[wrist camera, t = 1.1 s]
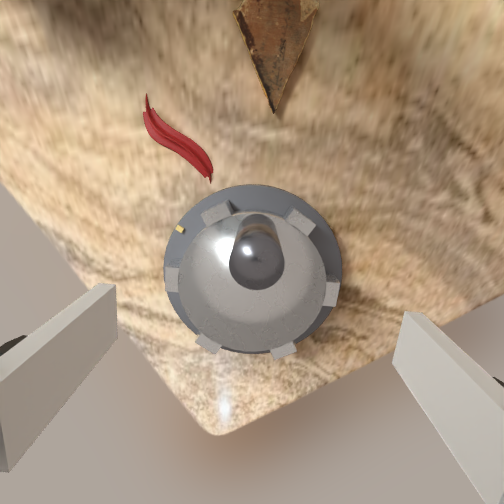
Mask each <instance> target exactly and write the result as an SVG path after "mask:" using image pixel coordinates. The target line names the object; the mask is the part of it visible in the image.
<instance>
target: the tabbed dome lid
mask: <svg viewBox="0 0 504 504" xmlns="http://www.w3.org/2000/svg"><path fill="white" fill-rule="evenodd" d="M200 215H201V216H202V218H203V220H204V222H205V224H206V227H205V228H203V229H202V230H201V231H200V233H199V234H198V235H197V236H196V237H195V239H194V240H193V241H192V242H191V244H190V245H189V247H188V248H187V250H186V252H185V254H184V256H183V258H182V259H172V260H171V261H170V263H169V264H168V265H167V266H166V267H165V291H168V292H179V296H180V300H181V303H182V306H183V308H184V310H185V312H186V314H187V316H188V318H189V319H190V321H191V322H192V323H193V324H194V326H195V327H196V328H197V329H198V330H199V332H198V334H197V337H196V340H195V343H197V344H199V345H200V346H202V347H204V348H205V349H207V350H208V351H210V352H212V353H213V354H216V353H217V352H218V350H219V349H220V348H221V347H222V346H225V347H227V348H231V349H235V350H240V351H250V352H257V351H266V350H270V352H271V354H272V356H273V358H274V360H276V359H279V358H281V357H284V356H286V355H289V354H292V353H294V352H297V349H296V344H295V339H296V338H298V337H299V336H300V335H301V334H303V333H304V332H305V331H306V330H307V329H308V328H309V327H310V326H311V324H312V323H313V322H314V320H315V319H316V317H317V316H318V314H319V312H320V310H321V308H322V306H332V307H336V303H337V298H338V292H339V287H340V282H339V281H338V279H337V278H336V276H335V275H334V273H325V268H324V264H323V261H322V258H321V256H320V254H319V252H318V250H317V249H316V247H315V246H314V244H313V243H312V241H311V240H310V238H309V237H308V235H309V234H310V232H311V231H312V230H313V229H314V227H315V226H316V224H315V223H314V222H313V221H312V220H311V219H310V218H308V217H307V216H306V215H304V214H303V213H301V212H300V211H299V210H297V209H296V208H295V207H293V206H292V205H291V206H290V207H289V209H288V210H287V211H286V213H285V214H284V215H283V216H282V215H279V214H277V213H274V212H270V211H266V210H260V209H246V210H238V211H233V208H232V206H231V204H230V202H229V200H228V199H227V200H225V201H223V202H221V203H219V204H217V205H215V206H212V207H210V208H208V209H206V210H205V211H203V212H202V213H201V214H200Z"/></svg>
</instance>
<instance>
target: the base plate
mask: <svg viewBox="0 0 504 504" xmlns="http://www.w3.org/2000/svg"><path fill="white" fill-rule="evenodd" d="M227 199H228V200H229V202H230V204H231V206H232V208H233V211H238V210H246V209H260V210H266V211H270V212H274V213H277V214H279V215H282V216H283V215H284V214H285V213H286V211H287V210H288V209H289V207H290V206H291V205H292V206H293V207H295V208H296V209H297V210H299V211H300V212H301V213H303V214H304V215H306V216H307V217H308V218H310V219H311V220H312V221H313V222H314V223H315V224H316V226H315V227H314V229H313V230H312V231H311V232H310V234H309V235H308V237H309V238H310V240H311V241H312V243H313V244H314V246H315V247H316V249H317V250H318V252H319V254H320V256H321V258H322V261H323V264H324V268H325V273H334V275H335V276H336V278H337V279H338V281H339V282H340V286H341V280H342V261H341V255H340V250H339V247H338V244H337V241H336V239H335V237H334V235H333V232H332V230H331V229H330V227H329V226H328V224H327V223H326V221H325V220H324V219H323V218H322V217H321V216H320V214H319V213H318V212H317V211H316V210H314V209H313V208H312V207H311V206H310V205H309V204H307V203H306V202H305V201H303V200H302V199H300V198H299V197H297V196H296V195H294V194H291V193H289V192H287V191H285V190H282V189H279V188H275V187H271V186H265V185H240V186H234V187H230V188H226V189H223V190H221V191H218V192H216V193H214V194H212V195H210V196H208V197H206V198H205V199H203V200H202V201H200V202H199V203H198V204H196V205H195V206H194V207H192V208H191V209H190V210H189V211H188V212H187V213H186V214H185V215H184V216H183V218H182V219H181V220H180V222H179V223H178V224H177V226H176V227H175V229H174V231H173V233H172V235H171V237H170V239H169V242H168V245H167V248H166V252H165V257H164V268H163V269H164V281H165V267H166V266H167V265H168V264H169V263H170V261H171V260H172V259H182V258H183V256H184V254H185V252H186V250H187V248H188V247H189V245H190V244H191V242H192V241H193V240H194V239H195V237H196V236H197V235H198V234H199V233H200V231H201V230H202V229H203V228H205V227H206V224H205V222H204V220H203V218H202V216H201V215H200V214H201V213H202V212H203V211H205V210H206V209H208V208H210V207H212V206H215V205H217V204H219V203H221V202H223V201H225V200H227ZM339 290H340V287H339ZM167 294H168V297H169V300H170V302H171V304H172V306H173V308H174V310H175V311H176V313H177V314H178V316H179V317H180V319H181V320H182V321H183V322H184V323H185V324H186V326H187V327H188V328H189V329H191V330H192V331H193V332H194V333H195V334H196V335H197V334H198V332H199V330H198V329H197V328H196V327H195V326H194V324H193V323H192V322H191V321H190V319H189V318H188V316H187V314H186V312H185V310H184V308H183V306H182V303H181V300H180V296H179V292H168V291H167ZM338 294H339V292H338ZM332 308H333V307H332V306H322V308H321V310H320V312H319V314H318V316H317V317H316V319H315V320H314V322H313V323H312V324H311V326H310V327H309V328H308V329H307V330H306V331H305V332H304V333H303V334H301V335H300V336H299V337H298V338H296V339H295V344H296V343H298V342H300V341H301V340H303V339H305V338H306V337H308V336H309V335H310V334H311V333H313V332H314V331H315V330H316V329H317V328H318V327H319V326H320V325H321V324H322V323H323V322H324V320H325V319H326V318H327V316H328V315H329V313H330V312H331V310H332ZM221 348H222V349H225V350H229V351H233V352H238V353H245V354H260V353H269V352H270V350H266V351H257V352H250V351H240V350H235V349H231V348H227V347H225V346H222V347H221Z"/></svg>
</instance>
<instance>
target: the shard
mask: <svg viewBox="0 0 504 504" xmlns="http://www.w3.org/2000/svg"><path fill="white" fill-rule="evenodd" d="M318 9H319V3H318V2H317V1H316V0H244V1H243V3H242V4H241V6H240V7H239V8H238V9H235V10H234V11H233V16H234V18H235V20H236V22H237V25H238V26H239V29H240V32H241V34H242V37H243V40H244V42H245V45H246V46H247V49H248V51H249V55H250V57H251V60H252V62H253V66H254V68H255V71H256V74H257V76H258V78H259V81H260V83H261V86H262V89H263V91H264V93H265V95H266V97H267V98H268V102H269V106H270V108H271V111H272V112H273V114H274V113H275V110H276V109H277V106H278V103H279V101H280V99H281V97H282V94H283V90H284V88H285V86H286V83H287V81H288V79H289V76H290V74H291V73H292V71H293V70H294V68H295V65H296V63H297V61H298V58H299V56H300V54H301V52H302V50H303V48H304V46H305V42H306V40H307V38H308V36H309V33H310V31H311V28H312V25H313V19H314V16H315V14H316V12H317V10H318Z"/></svg>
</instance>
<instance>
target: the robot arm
mask: <svg viewBox="0 0 504 504" xmlns="http://www.w3.org/2000/svg"><path fill="white" fill-rule="evenodd" d="M117 339H118V332H117V303H116V285H114V284H104V283H98V284H97V285H96V286H94V287H93V288H92V289H90V290H89V291H88V292H86V293H85V294H84V295H82V296H81V297H80V298H78V299H77V300H76V301H74V302H73V303H72V304H70V305H69V306H68V307H66V308H65V309H63V310H62V311H61V312H60V313H58V314H57V315H56V316H54V317H53V318H51V319H50V320H49V321H47V322H46V323H45V324H43V325H42V326H41V327H39V328H38V329H37V330H36V331H34V332H33V333H31V334H30V335H29V336H25V335H23V336H20V337H18V338H16V339H13V340H11V341H9V342H7V343H5V344H4V345H2V346H1V347H0V472H8V473H9V472H10V471H11V470H12V468H13V467H14V466H15V465H16V463H17V462H18V461H19V460H20V459H21V457H22V456H23V455H24V454H25V452H26V451H27V450H28V449H29V447H30V446H31V445H32V444H33V442H34V441H35V440H36V439H37V438H38V436H39V435H40V434H41V433H42V431H43V430H44V429H45V428H46V426H47V425H48V424H49V423H50V421H51V420H52V419H53V418H54V417H55V415H56V414H57V413H58V412H59V410H60V409H61V408H62V407H63V405H64V404H65V403H66V402H67V400H68V399H69V398H70V397H71V395H72V394H73V393H74V392H75V391H76V389H77V388H78V387H79V385H80V384H81V383H82V382H83V381H84V379H85V378H86V377H87V376H88V374H89V373H90V372H91V371H92V369H93V368H94V367H95V366H96V364H97V363H98V362H99V361H100V360H101V358H102V357H103V356H104V355H105V353H106V352H107V351H108V350H109V348H110V347H111V346H112V345H113V344H114V342H115V341H116V340H117ZM392 364H393V366H394V367H395V369H396V370H397V372H398V373H399V375H400V376H401V378H402V379H403V381H404V382H405V384H406V385H407V387H408V388H409V390H410V391H411V393H412V394H413V396H414V397H415V399H416V400H417V402H418V403H419V405H420V406H421V408H422V409H423V411H424V412H425V414H426V415H427V417H428V418H429V420H430V421H431V423H432V424H433V425H434V427H435V429H436V430H437V432H438V433H439V435H440V436H441V438H442V439H443V441H444V442H445V444H446V445H447V447H448V448H449V450H450V451H451V453H452V454H453V456H454V457H455V459H456V460H457V462H458V463H459V465H460V466H461V468H462V469H463V471H464V472H465V474H466V475H467V477H468V478H469V480H470V481H471V483H472V484H473V486H474V487H475V489H476V490H477V492H478V493H479V495H480V496H481V498H482V499H483V501H484V502H485V504H504V383H503V382H502V381H500V380H498V379H497V378H495V377H491V376H490V375H489V374H488V373H487V372H486V371H485V370H484V369H483V368H482V367H481V366H479V365H478V364H477V363H476V362H475V361H474V360H473V359H472V358H471V357H469V356H468V355H467V354H466V353H465V352H464V351H463V350H462V349H461V348H460V347H459V346H458V345H456V344H455V343H454V342H453V341H452V340H451V339H450V338H449V337H448V336H447V335H446V334H444V333H443V332H442V331H441V330H440V329H439V328H438V327H437V326H436V325H435V324H434V323H432V322H431V321H430V320H429V319H428V318H427V317H426V316H425V315H424V314H423V313H420V312H409V311H405V313H404V317H403V321H402V325H401V329H400V333H399V337H398V341H397V345H396V349H395V353H394V357H393V361H392Z"/></svg>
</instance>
